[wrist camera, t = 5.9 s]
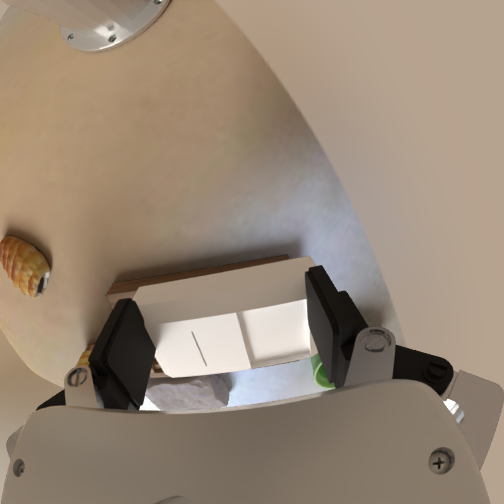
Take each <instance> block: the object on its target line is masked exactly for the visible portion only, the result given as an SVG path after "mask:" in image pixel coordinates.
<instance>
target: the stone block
mask: <svg viewBox="0 0 504 504" xmlns="http://www.w3.org/2000/svg"><path fill="white" fill-rule="evenodd" d="M145 396H146V397H147V398H148V399H150V401H151V402H152V403H153V404H155V405H156V406H157V407H158V408H159V409H160V410H163V411H172V410H198V409H212V408H221V407H225V406H227V405H228V400H229V389H228V387H227V384H226V382H225V381H224V380H223V379H221V377H219V376H218V375H217V374H209V375H199V376H188V377H175V378H172V377H158V378H151V377H150V376H149V381H148V385H147V389H146V393H145Z"/></svg>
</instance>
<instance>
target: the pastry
mask: <svg viewBox="0 0 504 504" xmlns="http://www.w3.org/2000/svg"><path fill="white" fill-rule="evenodd" d="M0 261H1V263H2V264H3V267H4V269H5V270H6V271H7V273H8V277H9V278H10V279H12V280H13V283H14V286H15V287H18V288H20V289H21V291H22V293H23V294H24V295H30V296H31V297H32V298H33V299H34V298H38V297H41V296H42V295H43V291H44V288H46V287H47V281H48V277H49V276H50V268H49V266H48V264H47V261H46V259H45V257H44V256H43V254H42V253H40V252H39V251H37V250H36V248H35V247H34V246H32V245H31V244H28V243H27V242H25V241H23V240H21V239H19V238H17V237H14V236H7V237H5V238H4V239H3V240H2V241H1V243H0Z"/></svg>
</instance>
